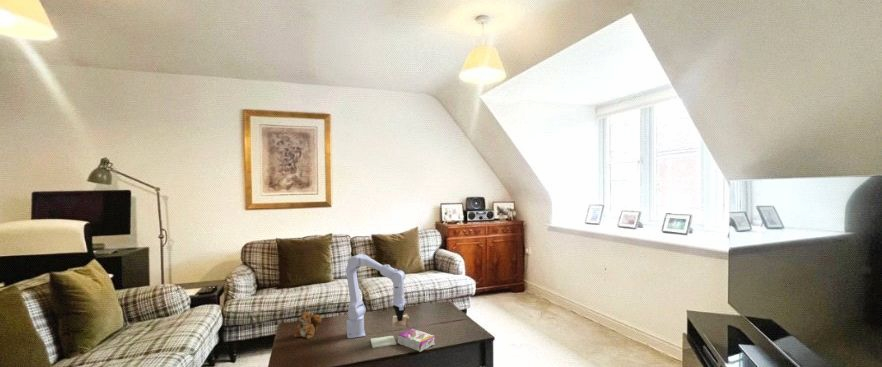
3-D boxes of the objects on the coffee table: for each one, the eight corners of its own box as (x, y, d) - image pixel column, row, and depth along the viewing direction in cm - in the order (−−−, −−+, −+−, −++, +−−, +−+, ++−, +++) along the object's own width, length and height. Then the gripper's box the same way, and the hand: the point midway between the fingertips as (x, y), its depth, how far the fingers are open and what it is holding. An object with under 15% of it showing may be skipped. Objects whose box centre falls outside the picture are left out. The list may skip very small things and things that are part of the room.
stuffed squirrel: (292, 337, 207) (291, 313, 207) (311, 328, 220) (311, 305, 220) (305, 340, 202) (305, 316, 202) (324, 331, 215) (324, 308, 215)
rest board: (372, 347, 191) (372, 346, 191) (370, 340, 201) (370, 338, 201) (396, 344, 195) (396, 342, 195) (393, 337, 204) (392, 335, 204)
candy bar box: (412, 327, 204) (435, 335, 194) (412, 336, 204) (435, 345, 194) (396, 334, 196) (420, 342, 185) (397, 343, 196) (420, 352, 185)
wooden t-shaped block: (393, 328, 197) (394, 318, 197) (391, 323, 204) (392, 314, 204) (408, 327, 199) (409, 317, 199) (406, 322, 206) (406, 313, 206)
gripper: (408, 297, 196) (409, 323, 196) (403, 289, 210) (404, 314, 210) (395, 298, 194) (396, 325, 194) (390, 291, 207) (391, 315, 207)
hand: (399, 319), depth 201 cm, fingers closed on wooden t-shaped block, 2 cm apart
